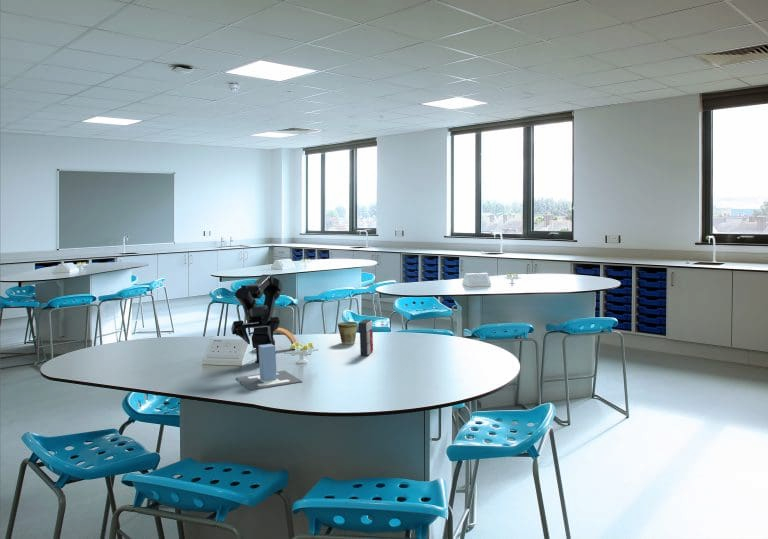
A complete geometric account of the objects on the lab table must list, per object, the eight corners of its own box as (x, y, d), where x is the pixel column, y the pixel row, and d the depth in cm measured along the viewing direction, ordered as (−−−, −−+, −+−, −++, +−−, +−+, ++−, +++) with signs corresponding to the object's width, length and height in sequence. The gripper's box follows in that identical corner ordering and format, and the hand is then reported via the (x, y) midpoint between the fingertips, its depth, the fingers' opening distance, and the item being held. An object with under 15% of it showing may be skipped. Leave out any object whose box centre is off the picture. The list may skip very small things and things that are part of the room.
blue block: (263, 381, 227) (262, 347, 226) (260, 378, 232) (258, 345, 231) (276, 379, 230) (275, 345, 229) (272, 376, 234) (271, 343, 233)
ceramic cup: (357, 344, 294) (357, 324, 293) (337, 345, 294) (336, 325, 293) (359, 339, 307) (358, 320, 306) (339, 340, 307) (339, 320, 306)
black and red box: (368, 356, 268) (367, 323, 266) (359, 356, 268) (358, 323, 267) (373, 351, 278) (372, 319, 277) (364, 351, 279) (363, 319, 278)
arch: (258, 347, 295) (257, 327, 294) (297, 347, 292) (297, 327, 291) (254, 350, 289) (253, 329, 288) (294, 350, 286) (293, 329, 285)
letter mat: (250, 390, 217) (250, 389, 217) (235, 378, 235) (235, 377, 235) (302, 382, 227) (302, 380, 227) (284, 371, 244) (284, 370, 244)
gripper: (231, 301, 236) (240, 332, 227) (277, 297, 244) (287, 327, 236) (227, 318, 243) (236, 349, 234) (272, 313, 252) (281, 344, 243)
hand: (260, 342), depth 237 cm, fingers open, 9 cm apart
